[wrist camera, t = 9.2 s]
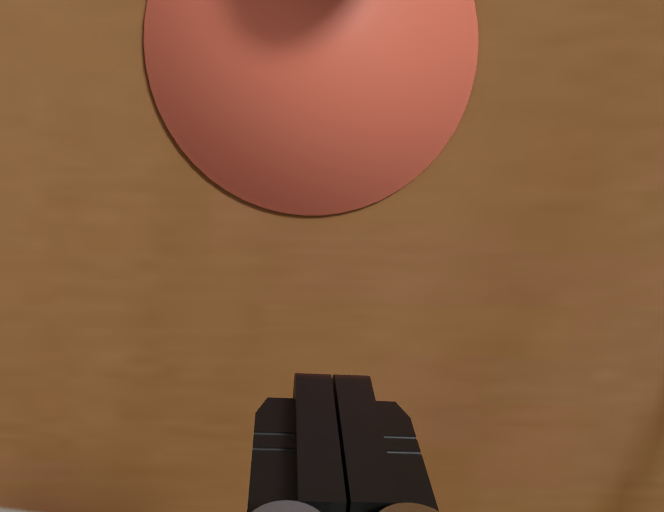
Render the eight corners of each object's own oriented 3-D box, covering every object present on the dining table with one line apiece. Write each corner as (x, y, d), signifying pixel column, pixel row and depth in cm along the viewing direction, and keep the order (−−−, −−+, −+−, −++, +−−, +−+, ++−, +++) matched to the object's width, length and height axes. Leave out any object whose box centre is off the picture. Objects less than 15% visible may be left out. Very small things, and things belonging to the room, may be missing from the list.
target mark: (504, -116, 24) (506, -117, 24) (450, 223, 29) (451, 224, 29) (140, -157, 23) (139, -159, 23) (147, 204, 28) (147, 206, 28)
